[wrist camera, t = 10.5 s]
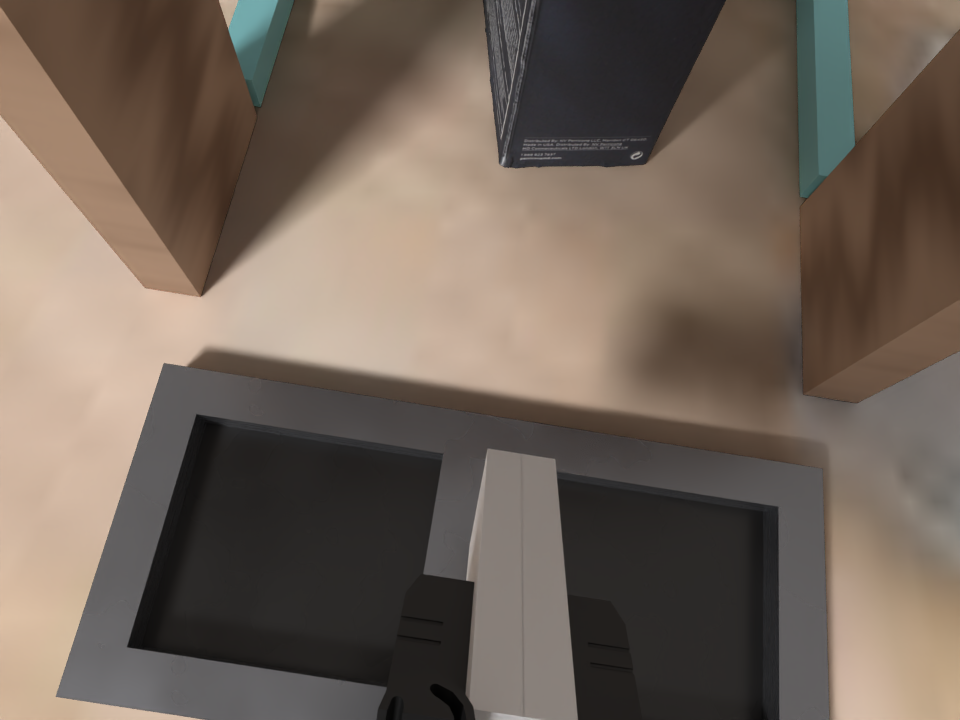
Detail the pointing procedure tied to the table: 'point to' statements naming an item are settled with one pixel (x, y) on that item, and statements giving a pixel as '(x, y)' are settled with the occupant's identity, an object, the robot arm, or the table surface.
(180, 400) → the pit plate
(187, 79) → the tunnel
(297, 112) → the table surface
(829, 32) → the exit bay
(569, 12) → the small box
